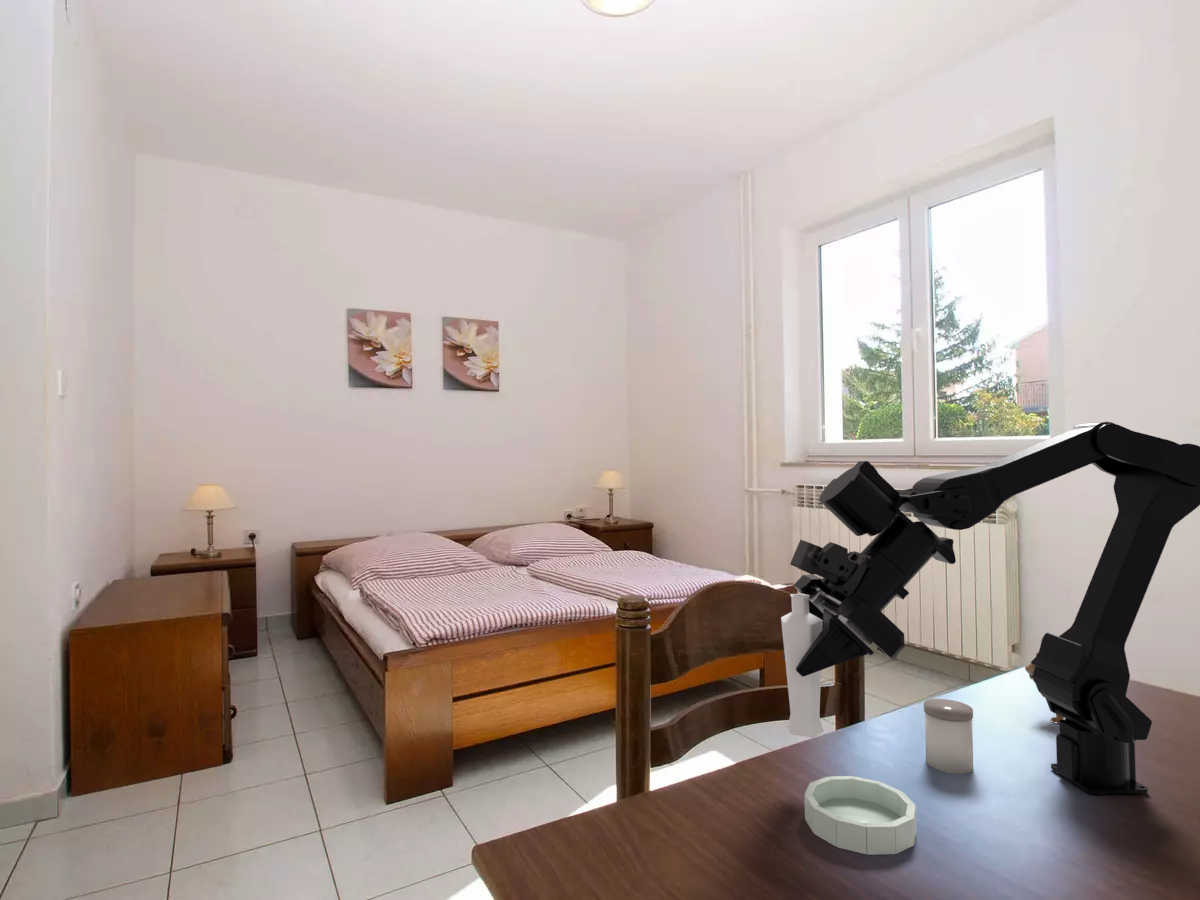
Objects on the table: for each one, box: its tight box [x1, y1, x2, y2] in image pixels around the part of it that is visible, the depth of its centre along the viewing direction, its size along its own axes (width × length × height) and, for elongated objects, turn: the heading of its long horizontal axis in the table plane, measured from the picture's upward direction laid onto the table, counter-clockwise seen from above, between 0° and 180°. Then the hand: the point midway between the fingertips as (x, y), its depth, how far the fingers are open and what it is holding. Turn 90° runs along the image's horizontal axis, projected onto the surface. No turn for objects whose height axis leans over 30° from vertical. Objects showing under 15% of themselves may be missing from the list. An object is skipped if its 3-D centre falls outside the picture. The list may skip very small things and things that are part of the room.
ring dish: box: [804, 775, 917, 856], centre depth 66 cm, size 10×10×2 cm
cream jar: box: [923, 698, 974, 775], centre depth 80 cm, size 5×5×7 cm
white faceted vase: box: [780, 593, 824, 738], centre depth 75 cm, size 5×4×15 cm
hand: (792, 666), depth 75 cm, fingers closed on white faceted vase, 4 cm apart
